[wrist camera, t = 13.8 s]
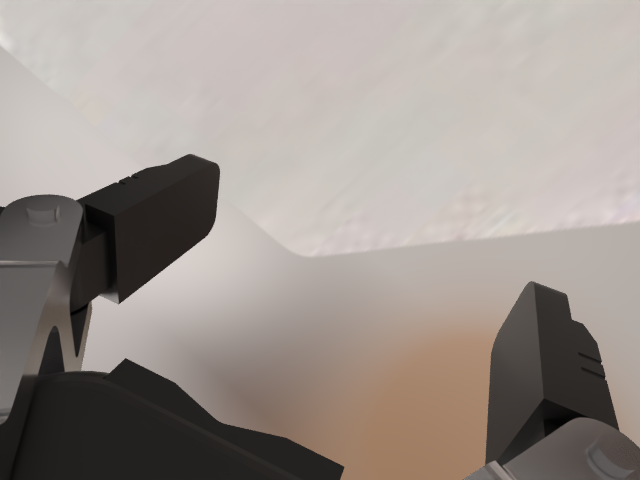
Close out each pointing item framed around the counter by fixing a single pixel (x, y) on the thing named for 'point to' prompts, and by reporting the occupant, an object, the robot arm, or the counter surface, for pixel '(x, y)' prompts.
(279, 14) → the counter surface
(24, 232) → the robot arm
